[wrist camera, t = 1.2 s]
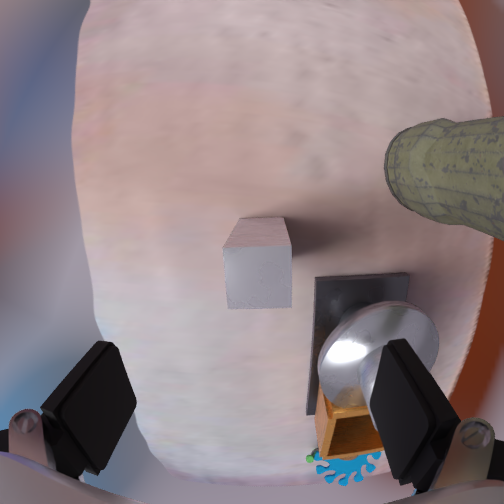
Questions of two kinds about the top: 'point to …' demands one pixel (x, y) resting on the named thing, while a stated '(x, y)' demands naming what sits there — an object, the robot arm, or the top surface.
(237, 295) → the tall grey block
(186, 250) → the top surface
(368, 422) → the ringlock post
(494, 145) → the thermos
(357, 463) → the blue splat shape
